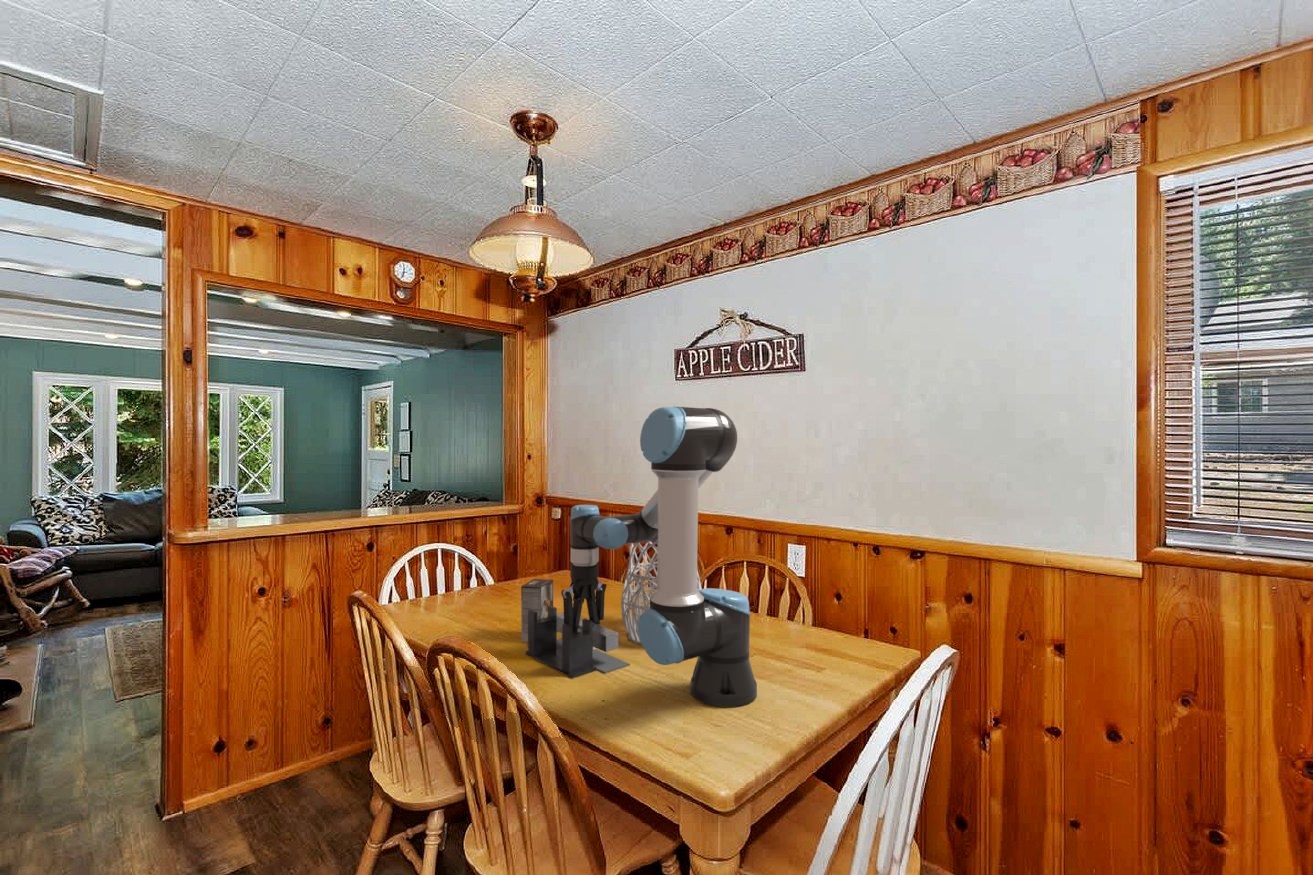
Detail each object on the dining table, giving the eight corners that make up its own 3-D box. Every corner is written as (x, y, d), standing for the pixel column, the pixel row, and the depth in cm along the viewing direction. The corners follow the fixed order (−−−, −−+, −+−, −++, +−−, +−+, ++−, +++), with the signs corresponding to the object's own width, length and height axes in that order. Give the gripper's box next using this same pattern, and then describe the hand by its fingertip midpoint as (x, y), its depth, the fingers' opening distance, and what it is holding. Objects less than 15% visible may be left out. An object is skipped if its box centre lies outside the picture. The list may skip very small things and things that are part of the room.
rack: (595, 670, 150) (596, 622, 150) (572, 678, 145) (572, 628, 145) (547, 647, 166) (547, 604, 166) (525, 653, 161) (525, 609, 161)
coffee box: (533, 631, 179) (533, 578, 179) (553, 633, 178) (554, 579, 178) (520, 642, 170) (520, 585, 170) (541, 643, 169) (542, 586, 169)
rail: (618, 648, 154) (618, 632, 154) (606, 652, 151) (606, 636, 151) (564, 625, 171) (564, 611, 171) (552, 628, 169) (552, 614, 168)
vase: (658, 656, 160) (659, 543, 159) (604, 634, 178) (604, 532, 178) (720, 636, 175) (721, 533, 175) (665, 617, 194) (665, 524, 194)
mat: (629, 665, 154) (629, 663, 154) (605, 673, 148) (605, 671, 148) (566, 638, 174) (566, 636, 174) (543, 644, 169) (543, 643, 169)
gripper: (601, 556, 170) (600, 639, 170) (549, 565, 158) (549, 654, 158) (618, 560, 164) (617, 646, 164) (566, 570, 152) (565, 662, 153)
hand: (584, 650), depth 161 cm, fingers closed on rail, 4 cm apart
